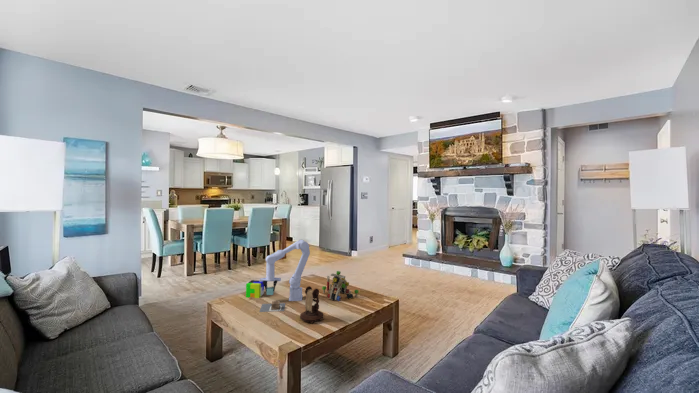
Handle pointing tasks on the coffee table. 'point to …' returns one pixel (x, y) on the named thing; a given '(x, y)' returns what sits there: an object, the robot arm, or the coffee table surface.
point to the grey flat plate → (268, 308)
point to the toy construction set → (338, 287)
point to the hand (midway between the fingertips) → (270, 291)
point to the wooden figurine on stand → (311, 306)
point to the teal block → (270, 291)
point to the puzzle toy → (254, 289)
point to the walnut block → (275, 305)
